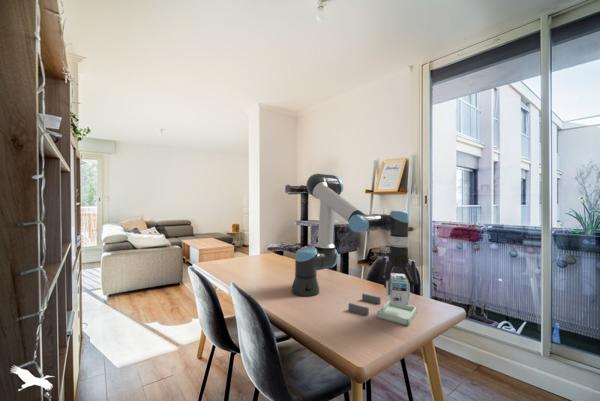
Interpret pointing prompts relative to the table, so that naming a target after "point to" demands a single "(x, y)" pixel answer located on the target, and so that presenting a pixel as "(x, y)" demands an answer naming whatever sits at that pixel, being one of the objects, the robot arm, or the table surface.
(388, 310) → the tray
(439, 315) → the table surface
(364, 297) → the grey bars
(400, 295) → the light bulb box
